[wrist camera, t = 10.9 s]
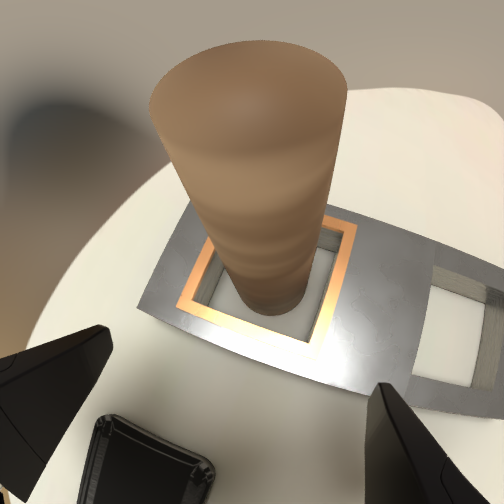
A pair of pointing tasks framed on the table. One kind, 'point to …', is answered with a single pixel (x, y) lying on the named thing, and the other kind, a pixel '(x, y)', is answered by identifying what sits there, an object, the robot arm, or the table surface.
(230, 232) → the peg
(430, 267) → the plate with square holes
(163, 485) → the phone
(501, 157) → the table surface
